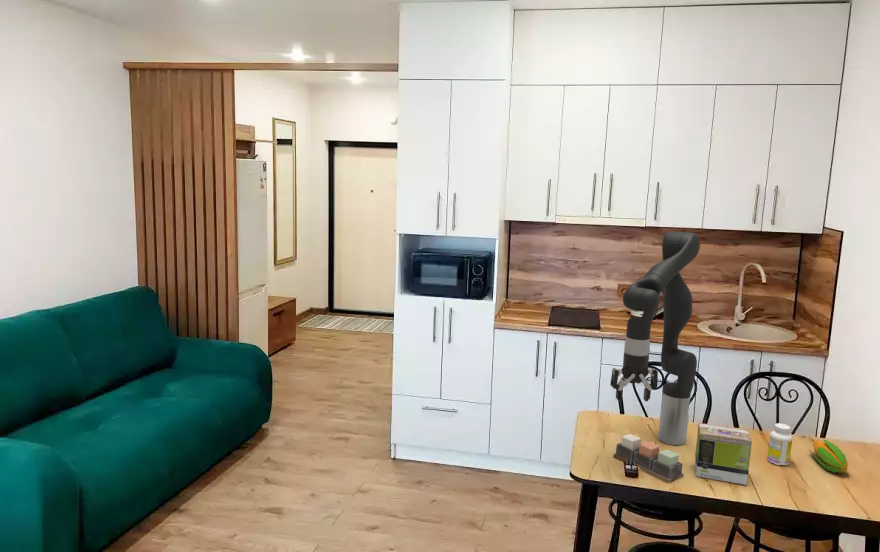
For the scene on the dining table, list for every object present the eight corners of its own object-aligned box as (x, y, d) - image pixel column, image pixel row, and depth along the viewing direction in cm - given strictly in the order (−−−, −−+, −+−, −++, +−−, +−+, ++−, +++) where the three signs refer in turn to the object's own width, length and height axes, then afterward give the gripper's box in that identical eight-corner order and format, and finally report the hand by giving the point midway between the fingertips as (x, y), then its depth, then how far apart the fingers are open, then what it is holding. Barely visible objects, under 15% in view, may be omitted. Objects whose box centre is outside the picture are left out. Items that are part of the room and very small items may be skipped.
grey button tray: (628, 451, 220) (629, 439, 220) (683, 476, 204) (684, 463, 203) (613, 457, 216) (614, 444, 215) (668, 483, 199) (670, 469, 198)
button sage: (665, 461, 207) (666, 449, 206) (677, 466, 203) (678, 454, 203) (657, 464, 204) (658, 452, 203) (669, 470, 201) (670, 458, 200)
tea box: (743, 472, 209) (749, 429, 206) (746, 486, 200) (753, 441, 197) (693, 463, 214) (698, 421, 211) (694, 476, 204) (700, 432, 202)
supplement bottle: (784, 458, 220) (789, 423, 218) (791, 467, 214) (797, 431, 212) (763, 456, 221) (768, 421, 219) (770, 465, 215) (775, 428, 213)
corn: (832, 454, 207) (805, 429, 227) (827, 476, 209) (800, 449, 228) (856, 458, 206) (827, 432, 226) (851, 480, 208) (822, 453, 227)
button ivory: (628, 445, 218) (630, 433, 217) (639, 449, 214) (641, 438, 214) (620, 448, 215) (621, 436, 214) (631, 453, 212) (632, 441, 211)
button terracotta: (646, 452, 212) (647, 441, 212) (658, 458, 209) (659, 446, 208) (638, 456, 210) (639, 444, 209) (650, 461, 206) (651, 449, 205)
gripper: (654, 347, 205) (649, 396, 208) (610, 347, 204) (606, 396, 207) (664, 354, 197) (659, 405, 201) (618, 355, 196) (614, 405, 199)
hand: (632, 400), depth 204 cm, fingers open, 8 cm apart
